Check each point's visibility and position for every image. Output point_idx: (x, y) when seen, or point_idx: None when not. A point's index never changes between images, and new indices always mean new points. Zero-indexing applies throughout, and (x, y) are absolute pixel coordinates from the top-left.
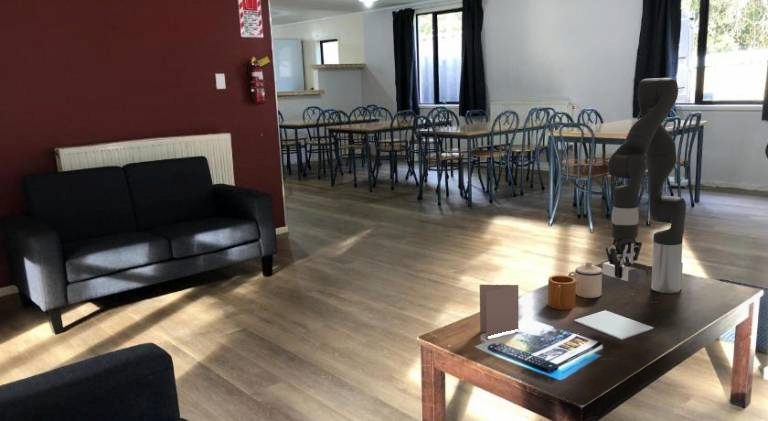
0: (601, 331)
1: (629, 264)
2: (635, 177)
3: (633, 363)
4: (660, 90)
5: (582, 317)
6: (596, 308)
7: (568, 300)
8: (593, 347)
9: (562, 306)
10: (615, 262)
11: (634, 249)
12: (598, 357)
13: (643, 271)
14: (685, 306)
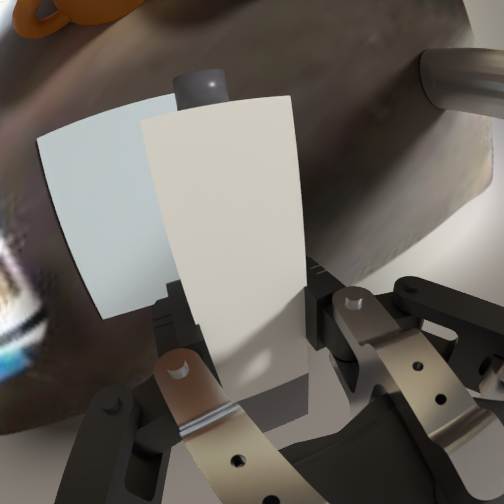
0: (73, 253)
1: (316, 347)
2: None
3: (82, 401)
4: None
5: (74, 123)
6: (191, 52)
7: (88, 12)
8: (23, 330)
9: (72, 19)
10: (129, 468)
11: (471, 363)
12: (25, 368)
13: (293, 417)
14: (403, 178)
